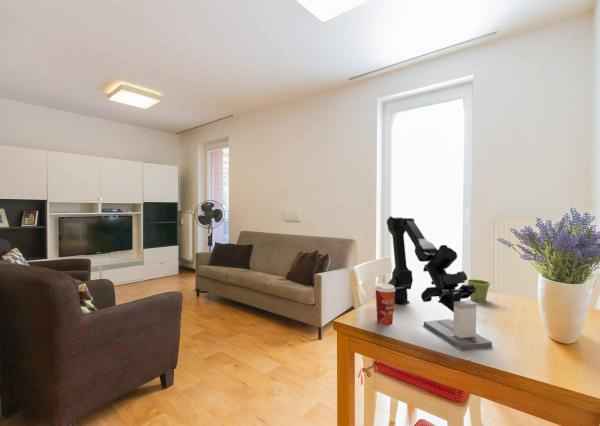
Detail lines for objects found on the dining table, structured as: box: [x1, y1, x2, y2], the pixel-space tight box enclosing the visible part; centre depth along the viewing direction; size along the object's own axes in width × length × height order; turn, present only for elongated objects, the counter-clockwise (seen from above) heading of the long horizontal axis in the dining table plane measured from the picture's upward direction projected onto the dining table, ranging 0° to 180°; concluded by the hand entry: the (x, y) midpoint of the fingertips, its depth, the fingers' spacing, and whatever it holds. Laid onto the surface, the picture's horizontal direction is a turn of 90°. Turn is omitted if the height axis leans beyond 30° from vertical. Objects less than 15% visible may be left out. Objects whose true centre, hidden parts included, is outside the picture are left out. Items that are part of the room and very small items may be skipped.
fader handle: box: [453, 300, 477, 338], centre depth 97 cm, size 3×6×11 cm, turn 103°
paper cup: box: [374, 283, 396, 326], centre depth 113 cm, size 8×8×14 cm
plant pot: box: [466, 278, 491, 303], centre depth 138 cm, size 9×9×9 cm
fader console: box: [423, 318, 493, 352], centre depth 101 cm, size 19×11×2 cm, turn 13°
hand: (460, 316), depth 99 cm, fingers closed, pressing on fader handle
